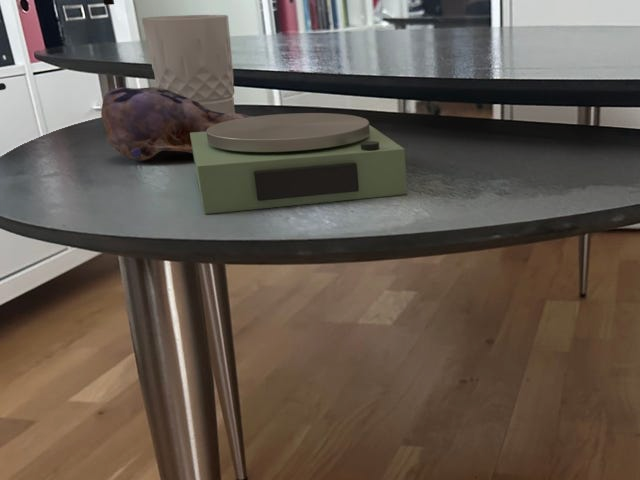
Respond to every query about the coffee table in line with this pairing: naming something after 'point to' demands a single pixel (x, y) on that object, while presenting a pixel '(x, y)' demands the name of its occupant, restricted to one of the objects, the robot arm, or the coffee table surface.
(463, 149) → the coffee table surface
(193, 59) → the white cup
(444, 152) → the coffee table surface
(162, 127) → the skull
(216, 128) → the scale pan
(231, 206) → the scale
